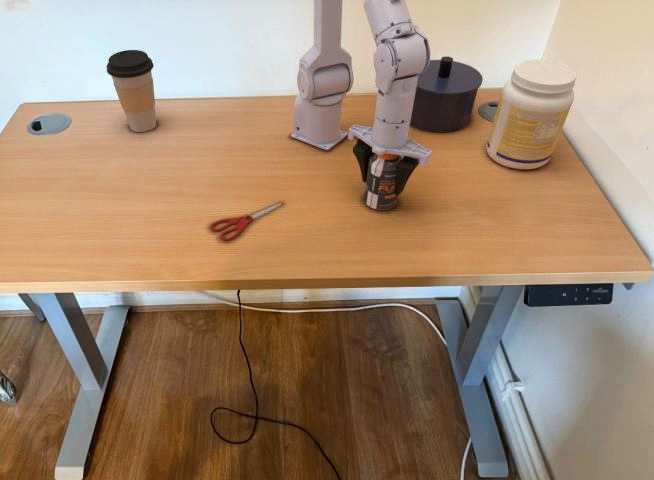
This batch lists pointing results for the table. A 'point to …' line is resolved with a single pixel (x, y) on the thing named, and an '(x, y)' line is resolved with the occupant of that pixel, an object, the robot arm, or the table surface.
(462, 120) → the pot
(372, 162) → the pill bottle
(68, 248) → the table surface
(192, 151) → the table surface
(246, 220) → the scissors
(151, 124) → the coffee cup
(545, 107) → the supplement tub
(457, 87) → the pot lid
